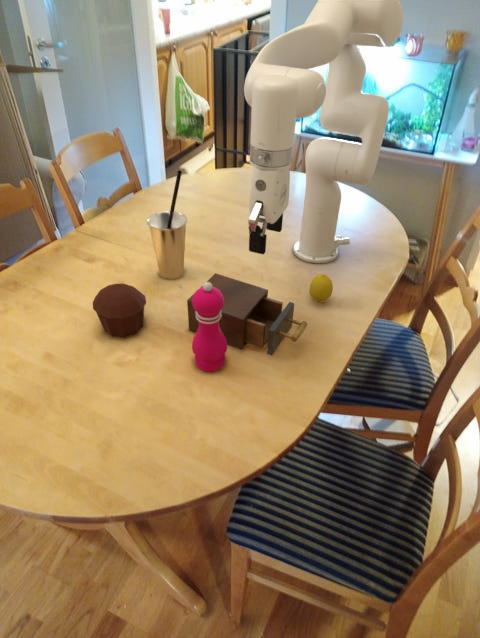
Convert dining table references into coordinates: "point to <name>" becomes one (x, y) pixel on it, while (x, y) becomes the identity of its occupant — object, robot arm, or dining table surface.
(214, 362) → the pepper mill
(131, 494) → the dining table surface
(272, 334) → the drawer
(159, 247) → the metal cup with straw
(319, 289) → the lemon
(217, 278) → the cabinet
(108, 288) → the muffin
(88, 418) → the dining table surface
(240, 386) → the dining table surface
